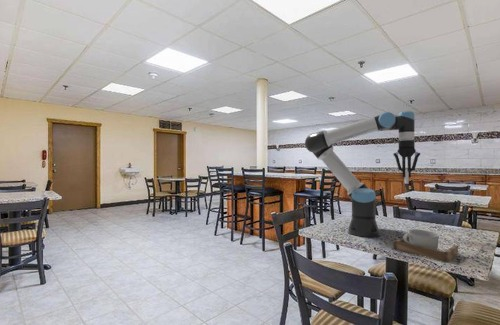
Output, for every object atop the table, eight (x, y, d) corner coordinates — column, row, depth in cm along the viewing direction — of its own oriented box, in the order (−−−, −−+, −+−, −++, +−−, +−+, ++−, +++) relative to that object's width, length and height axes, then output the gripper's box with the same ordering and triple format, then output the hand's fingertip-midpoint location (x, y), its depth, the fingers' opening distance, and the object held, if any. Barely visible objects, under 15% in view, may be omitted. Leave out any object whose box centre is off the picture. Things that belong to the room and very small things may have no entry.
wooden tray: (406, 243, 124) (406, 236, 124) (457, 254, 109) (457, 246, 109) (393, 249, 116) (393, 241, 116) (447, 262, 100) (447, 253, 100)
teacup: (430, 247, 118) (430, 229, 118) (444, 255, 108) (444, 236, 108) (397, 246, 120) (397, 228, 120) (408, 254, 109) (408, 235, 109)
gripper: (418, 140, 146) (418, 183, 146) (392, 141, 151) (392, 182, 151) (422, 139, 139) (422, 184, 139) (393, 140, 144) (394, 183, 144)
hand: (406, 183), depth 145 cm, fingers closed
